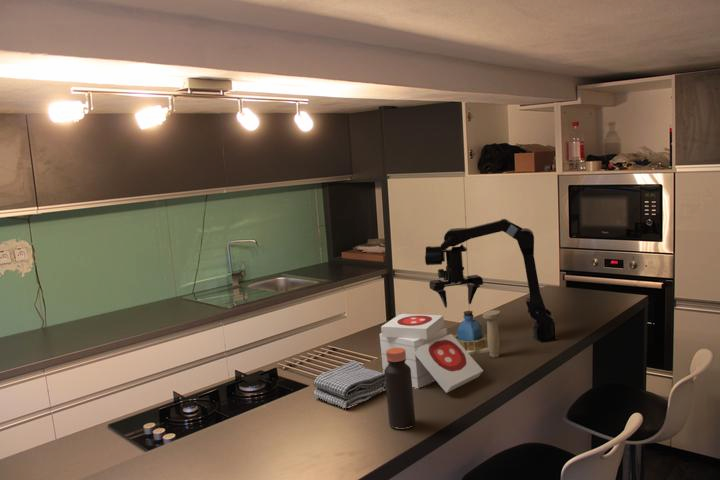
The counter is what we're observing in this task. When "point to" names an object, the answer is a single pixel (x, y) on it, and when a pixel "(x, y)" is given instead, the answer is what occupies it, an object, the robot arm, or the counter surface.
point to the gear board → (474, 345)
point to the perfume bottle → (469, 328)
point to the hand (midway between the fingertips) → (457, 305)
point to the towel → (349, 384)
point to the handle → (492, 332)
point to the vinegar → (399, 389)
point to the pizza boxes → (428, 351)
